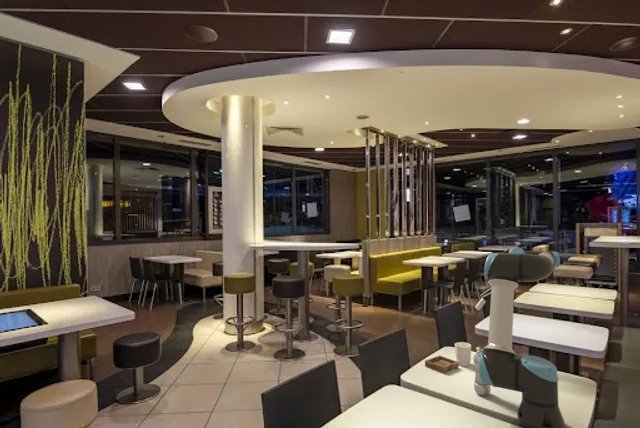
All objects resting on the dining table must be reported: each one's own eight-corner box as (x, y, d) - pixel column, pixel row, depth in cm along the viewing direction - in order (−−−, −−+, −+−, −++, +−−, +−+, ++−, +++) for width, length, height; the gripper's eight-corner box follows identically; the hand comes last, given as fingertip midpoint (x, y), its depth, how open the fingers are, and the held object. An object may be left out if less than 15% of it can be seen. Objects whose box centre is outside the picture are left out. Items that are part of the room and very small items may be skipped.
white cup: (451, 362, 198) (451, 343, 198) (463, 360, 202) (462, 341, 202) (463, 368, 191) (462, 348, 191) (475, 365, 195) (474, 345, 195)
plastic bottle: (481, 398, 160) (480, 351, 160) (470, 391, 167) (469, 345, 167) (494, 396, 162) (492, 349, 162) (483, 389, 168) (482, 344, 168)
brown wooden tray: (443, 373, 185) (443, 367, 185) (425, 366, 195) (424, 360, 195) (458, 367, 192) (458, 362, 192) (439, 361, 201) (439, 355, 201)
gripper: (532, 290, 189) (507, 323, 186) (497, 281, 213) (474, 310, 210) (522, 280, 188) (497, 314, 185) (488, 272, 212) (465, 302, 209)
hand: (485, 312), depth 197 cm, fingers open, 13 cm apart
